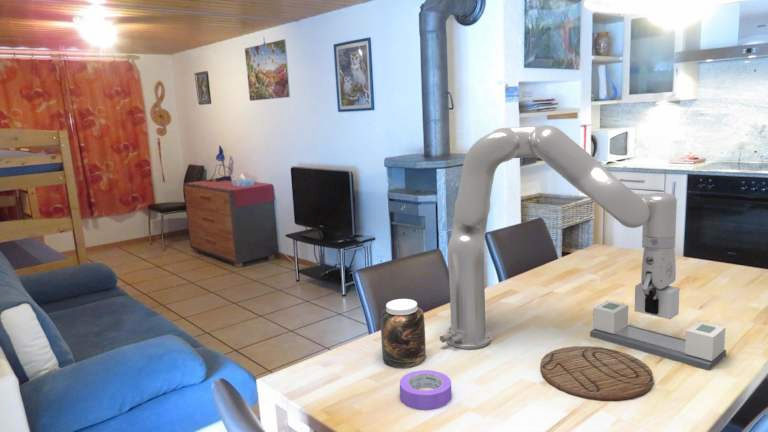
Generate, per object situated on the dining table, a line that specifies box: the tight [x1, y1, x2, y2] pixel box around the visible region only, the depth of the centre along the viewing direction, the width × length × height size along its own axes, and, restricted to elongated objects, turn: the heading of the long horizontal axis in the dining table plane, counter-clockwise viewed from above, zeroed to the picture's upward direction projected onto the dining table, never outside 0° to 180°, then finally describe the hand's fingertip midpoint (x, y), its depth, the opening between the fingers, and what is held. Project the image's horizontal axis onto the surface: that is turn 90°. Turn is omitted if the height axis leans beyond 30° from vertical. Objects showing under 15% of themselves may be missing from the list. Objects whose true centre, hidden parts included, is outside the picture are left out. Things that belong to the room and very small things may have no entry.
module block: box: [634, 281, 680, 320], centre depth 140 cm, size 5×9×7 cm, turn 41°
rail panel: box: [589, 324, 727, 371], centre depth 143 cm, size 11×30×2 cm, turn 41°
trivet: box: [539, 345, 654, 402], centre depth 129 cm, size 25×25×2 cm
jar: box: [380, 298, 427, 369], centre depth 142 cm, size 12×12×15 cm
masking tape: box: [399, 369, 452, 411], centre depth 123 cm, size 12×12×4 cm
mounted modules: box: [592, 300, 726, 361], centre depth 142 cm, size 8×30×6 cm, turn 41°
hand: (656, 309), depth 141 cm, fingers closed on module block, 5 cm apart
